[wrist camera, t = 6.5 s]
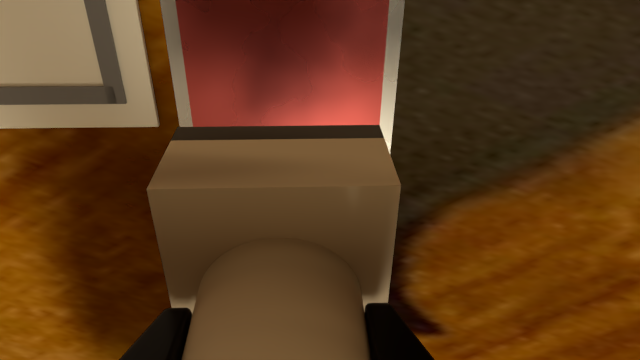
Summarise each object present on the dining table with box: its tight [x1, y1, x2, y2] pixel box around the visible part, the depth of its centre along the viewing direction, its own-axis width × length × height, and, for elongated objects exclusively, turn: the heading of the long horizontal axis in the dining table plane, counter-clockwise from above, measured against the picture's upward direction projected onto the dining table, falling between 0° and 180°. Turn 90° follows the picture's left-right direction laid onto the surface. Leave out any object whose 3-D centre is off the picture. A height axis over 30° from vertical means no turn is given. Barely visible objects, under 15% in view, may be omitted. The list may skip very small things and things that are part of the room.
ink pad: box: [160, 0, 405, 153], centre depth 16 cm, size 9×7×2 cm
